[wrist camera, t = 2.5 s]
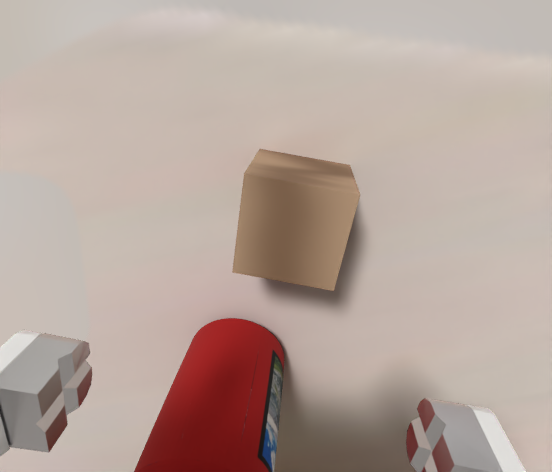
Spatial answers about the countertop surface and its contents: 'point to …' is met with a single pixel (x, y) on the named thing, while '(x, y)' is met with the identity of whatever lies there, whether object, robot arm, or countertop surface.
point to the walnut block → (295, 219)
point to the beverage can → (221, 404)
